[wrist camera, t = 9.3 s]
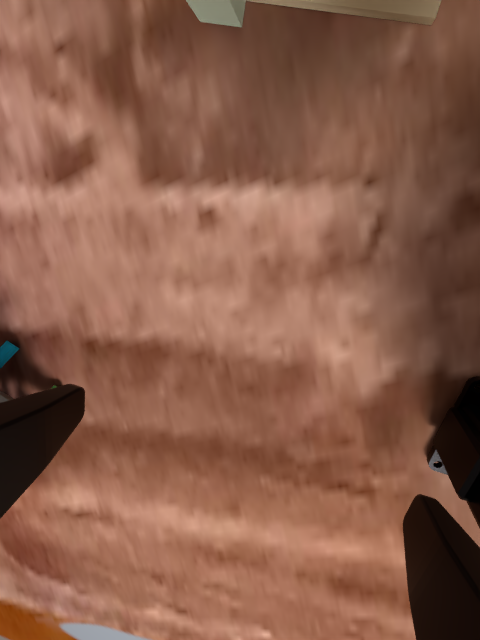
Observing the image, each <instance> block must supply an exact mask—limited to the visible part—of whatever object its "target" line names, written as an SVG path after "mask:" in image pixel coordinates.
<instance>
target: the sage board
mask: <svg viewBox="0 0 480 640" xmlns="http://www.w3.org/2000/svg"><path fill="white" fill-rule="evenodd" d="M186 1H187V3H188V4H189V6H190V7H191V9H192V10H193V12H194V13H195V15H196V16H197V18H198V19H199V20H200V22H206V23H213V24H221V25H228V26H235V27H242V23H243V17H244V10H245V4H246V0H186Z"/></svg>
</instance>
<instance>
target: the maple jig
mask: <svg viewBox="0 0 480 640" xmlns="http://www.w3.org/2000/svg"><path fill="white" fill-rule="evenodd" d="M246 1H251V2H258V3H266V4H273V5H281V6H289V7H296V8H304V9H312V10H319V11H327V12H334V13H342V14H350V15H357V16H365V17H373V18H380V19H388V20H395V21H403V22H411V23H418V24H426V25H432V23H433V21H434V20H435V18H436V15H437V12H438V9H439V6H440V3H441V0H246Z"/></svg>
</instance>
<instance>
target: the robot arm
mask: <svg viewBox="0 0 480 640" xmlns="http://www.w3.org/2000/svg"><path fill="white" fill-rule="evenodd" d="M478 384H480V377H477V376H476V377H472V378H470V379H469V380H468V381H467V382H466V384H465V386H464V388H463V390H462V392H461V394H460V396H459V398H458V400H457V402H456V404H455V405H454V407H452V408H451V409H449V411H448V413H447V415H446V417H445V419H444V421H443V423H442V425H441V427H440V429H439V430H438V432H437V434H436V436H435V438H434V440H433V444H434V446H433V448H432V450H431V451H430V453H429V455H428V457H427V462H428V465H429V467H430V468H431V469H432V470H434V471H437V472H440V473H444V474H447V475H448V476H449V478H450V480H451V482H452V485H453V487H454V489H455V491H456V493H457V495H458V496H459V498H460V499H462V500H465V501H467V503H468V505H469V507H470V509H471V511H472V513H473V516H474V518H475V520H476V522H477V524H478V526H479V528H480V388H477V389H475V388H474V387H475V386H476V385H478ZM84 411H85V390H84V388H82V387H80V386H77V385H74V384H66V385H63V386H59V387H55V388H52V389H48V390H45V391H41V392H37V393H34V394H30V395H27V396H23V397H19V398H16V399H12V400H9V401H5V402H1V403H0V518H1V517H2V516H3V515H4V514H5V513H6V512H7V511H8V509H9V508H10V507H11V506H12V505H13V504H14V503H15V502H16V501H17V499H18V498H19V497H20V496H21V495H22V494H23V493H24V492H25V490H26V489H27V488H28V487H29V486H30V485H31V484H32V483H33V482H34V480H35V479H36V478H37V477H38V476H39V475H40V474H41V473H42V471H43V470H44V469H45V468H46V467H47V465H48V464H49V463H50V462H51V460H52V459H53V458H54V456H55V455H56V454H57V452H58V451H59V450H60V448H61V447H62V446H63V444H64V443H65V441H66V440H67V439H68V437H69V436H70V435H71V433H72V432H73V431H74V429H75V428H76V427H77V425H78V424H79V423H80V421H81V420H82V418H83V415H84ZM436 461H440V462H439V463H434V462H436ZM403 535H404V547H405V560H406V572H407V584H408V593H409V601H410V607H411V613H412V618H413V624H414V629H415V635H416V640H480V547H479V546H478V545H477V544H476V543H475V542H474V541H473V540H472V538H471V537H470V536H469V535H468V534H467V533H466V532H465V531H464V530H463V528H462V527H461V526H460V525H459V524H458V523H457V522H456V521H455V519H454V518H453V517H452V516H451V515H450V514H449V513H448V512H447V511H446V509H445V508H444V507H443V506H442V505H441V504H440V503H439V502H438V501H437V500H436V499H434V498H431V497H428V496H425V495H421V494H418V495H417V496H415V498H414V500H413V501H412V503H411V505H410V507H409V509H408V511H407V513H406V515H405V517H404V520H403Z"/></svg>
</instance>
